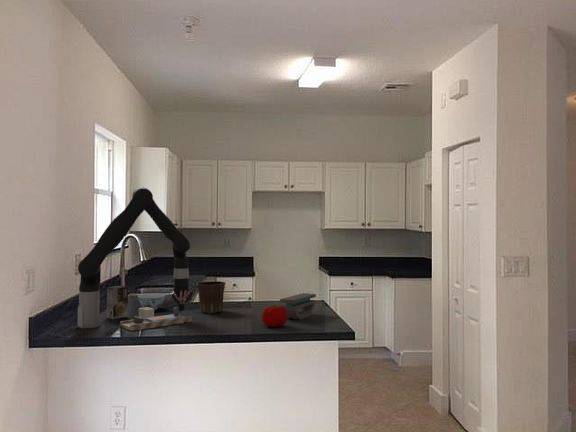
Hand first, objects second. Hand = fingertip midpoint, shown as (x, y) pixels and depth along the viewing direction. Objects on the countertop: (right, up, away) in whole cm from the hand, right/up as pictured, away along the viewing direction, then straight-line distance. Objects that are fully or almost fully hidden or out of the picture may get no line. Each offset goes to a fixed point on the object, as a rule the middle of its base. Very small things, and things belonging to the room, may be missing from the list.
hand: (181, 310), depth 267 cm
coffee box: (-35, -5, +8) cm, 37 cm away
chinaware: (-24, -5, +33) cm, 41 cm away
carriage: (-7, -3, -6) cm, 10 cm away
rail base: (-10, -5, -9) cm, 15 cm away
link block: (-18, -5, +1) cm, 19 cm away
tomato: (+48, -5, -15) cm, 51 cm away
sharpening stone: (+60, -5, +9) cm, 61 cm away
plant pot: (+12, -5, +25) cm, 28 cm away
